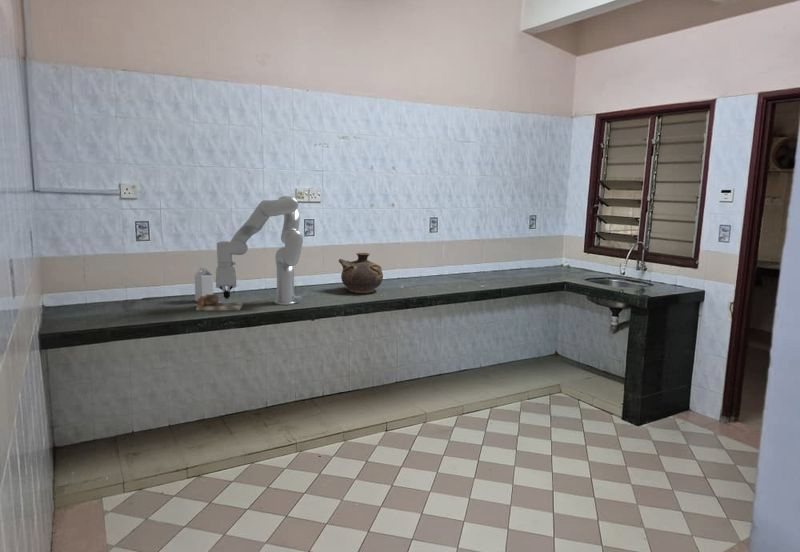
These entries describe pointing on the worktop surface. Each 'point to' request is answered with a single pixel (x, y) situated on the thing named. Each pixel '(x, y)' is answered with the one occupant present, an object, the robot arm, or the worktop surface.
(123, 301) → the worktop surface
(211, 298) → the keeper
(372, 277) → the vessel
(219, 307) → the rail board
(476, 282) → the worktop surface
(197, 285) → the milk carton
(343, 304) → the worktop surface
